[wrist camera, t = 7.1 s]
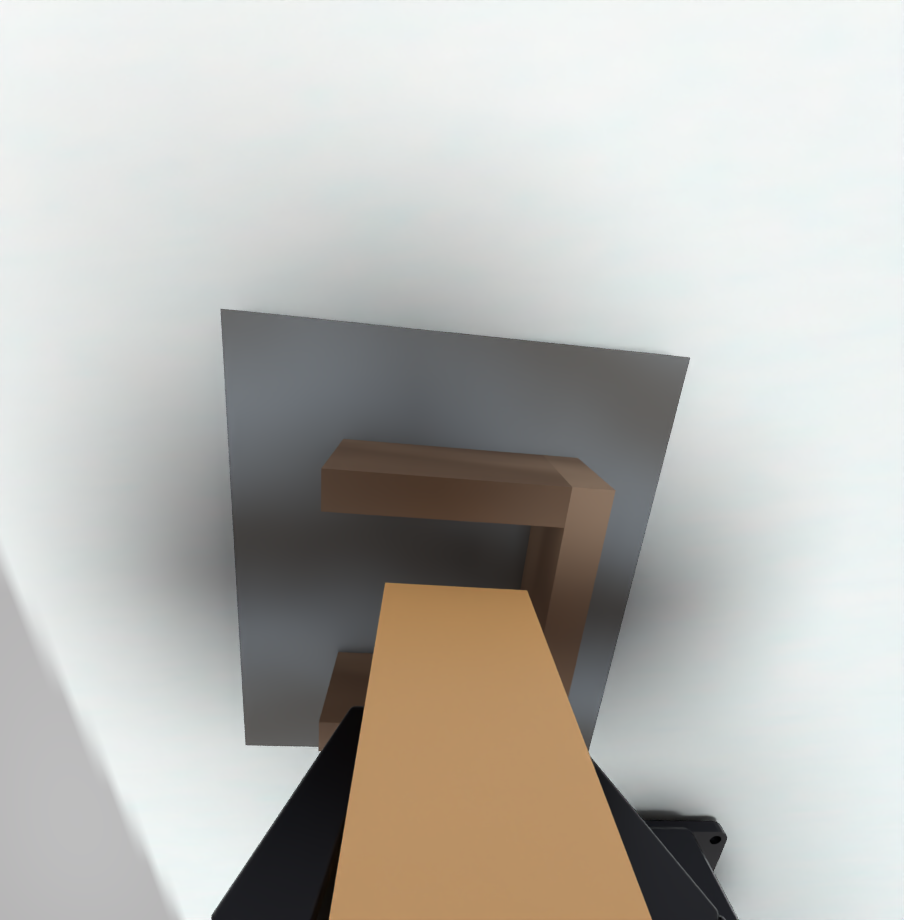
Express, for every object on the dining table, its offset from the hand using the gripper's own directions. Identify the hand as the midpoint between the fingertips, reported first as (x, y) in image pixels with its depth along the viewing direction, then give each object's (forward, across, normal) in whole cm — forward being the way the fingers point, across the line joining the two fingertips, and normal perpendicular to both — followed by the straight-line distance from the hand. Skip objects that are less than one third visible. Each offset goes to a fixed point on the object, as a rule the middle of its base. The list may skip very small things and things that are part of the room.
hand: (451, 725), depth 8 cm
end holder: (+6, 0, 0) cm, 6 cm away
